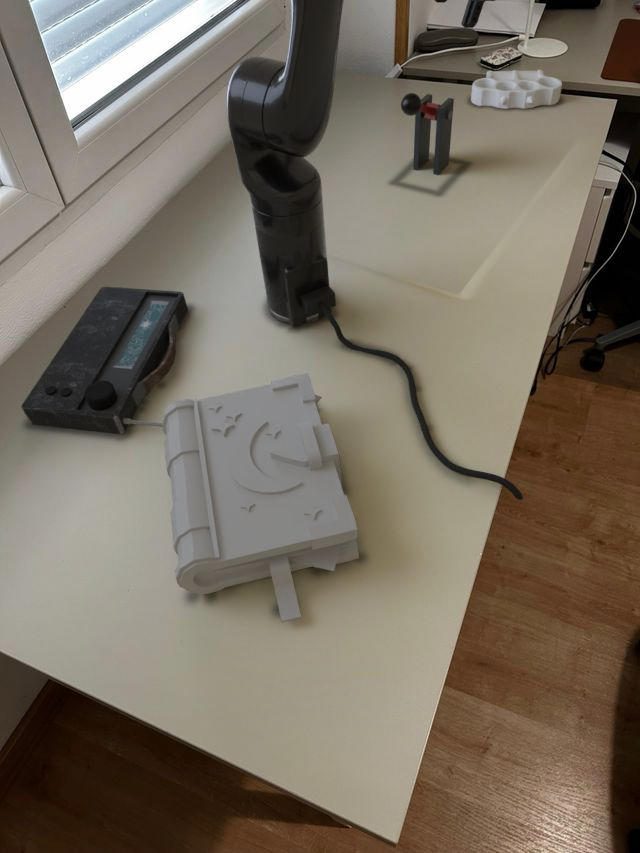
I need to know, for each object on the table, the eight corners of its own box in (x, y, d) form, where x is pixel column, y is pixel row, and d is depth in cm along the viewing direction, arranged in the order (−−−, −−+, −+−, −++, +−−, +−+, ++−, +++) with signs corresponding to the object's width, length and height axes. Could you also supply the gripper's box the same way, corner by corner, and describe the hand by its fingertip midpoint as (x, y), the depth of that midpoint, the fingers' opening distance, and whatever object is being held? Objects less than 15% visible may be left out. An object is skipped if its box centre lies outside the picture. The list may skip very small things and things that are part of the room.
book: (190, 649, 62) (170, 615, 56) (169, 436, 80) (152, 394, 75) (382, 601, 64) (382, 563, 58) (319, 403, 82) (314, 360, 77)
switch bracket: (438, 194, 113) (443, 120, 104) (393, 183, 117) (394, 111, 107) (467, 163, 120) (474, 91, 110) (423, 154, 123) (426, 83, 114)
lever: (413, 115, 101) (418, 93, 99) (395, 112, 102) (400, 90, 101) (443, 124, 111) (448, 104, 110) (426, 121, 113) (431, 101, 111)
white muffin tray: (555, 81, 140) (561, 111, 131) (470, 83, 143) (470, 112, 133) (558, 65, 138) (565, 94, 128) (472, 67, 140) (472, 95, 131)
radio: (99, 279, 96) (226, 288, 93) (108, 302, 100) (231, 311, 96) (15, 401, 80) (165, 417, 77) (29, 424, 84) (174, 440, 80)
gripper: (443, -139, 89) (410, -7, 102) (499, -101, 82) (456, 36, 95) (486, -134, 92) (450, -6, 104) (544, -98, 85) (497, 35, 97)
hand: (453, 14), depth 100 cm, fingers open, 8 cm apart
